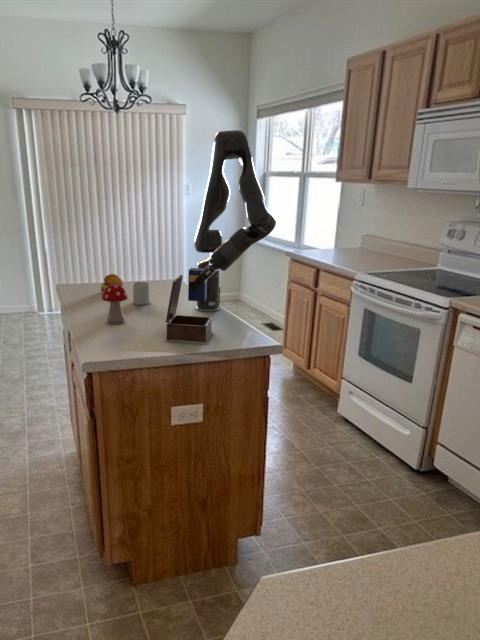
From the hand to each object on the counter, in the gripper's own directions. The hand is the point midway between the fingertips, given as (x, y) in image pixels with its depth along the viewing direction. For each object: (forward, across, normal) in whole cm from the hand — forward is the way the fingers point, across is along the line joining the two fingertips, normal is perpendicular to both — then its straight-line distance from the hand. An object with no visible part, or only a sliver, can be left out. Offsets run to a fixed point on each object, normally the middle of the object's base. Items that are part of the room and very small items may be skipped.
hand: (192, 286), depth 192 cm
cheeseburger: (+48, -54, -23) cm, 76 cm away
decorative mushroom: (+34, -5, -10) cm, 36 cm away
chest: (+11, +8, +12) cm, 19 cm away
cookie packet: (+2, 0, +5) cm, 5 cm away
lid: (+5, +8, -1) cm, 10 cm away
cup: (+34, -39, -10) cm, 53 cm away
